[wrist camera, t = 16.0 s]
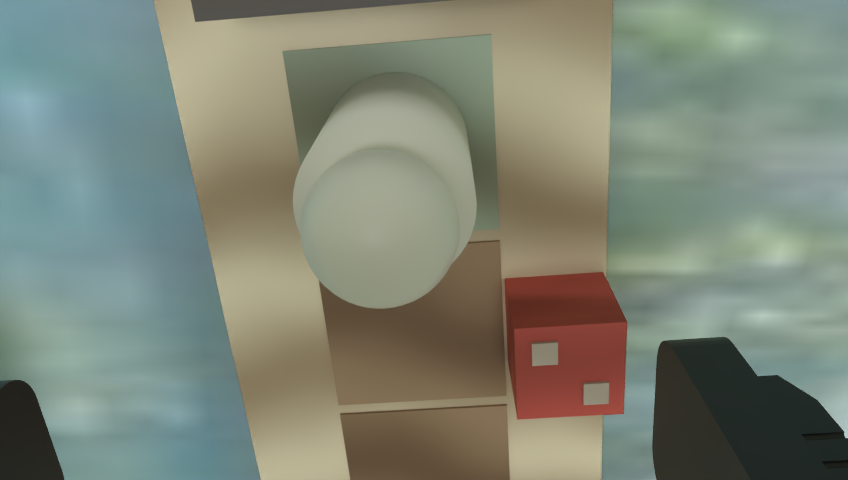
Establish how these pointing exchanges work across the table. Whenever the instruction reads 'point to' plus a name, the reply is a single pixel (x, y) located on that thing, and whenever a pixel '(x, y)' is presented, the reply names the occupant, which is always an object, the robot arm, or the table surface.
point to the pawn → (386, 192)
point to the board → (467, 276)
